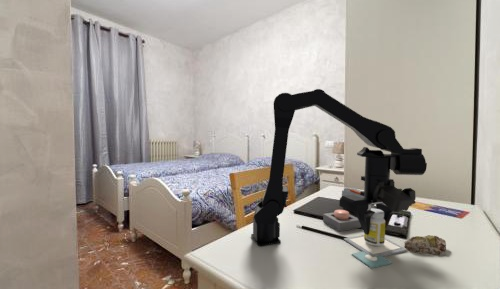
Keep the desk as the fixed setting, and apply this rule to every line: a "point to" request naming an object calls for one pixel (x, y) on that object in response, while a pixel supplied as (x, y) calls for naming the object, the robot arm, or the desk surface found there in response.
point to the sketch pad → (375, 247)
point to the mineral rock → (426, 244)
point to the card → (371, 259)
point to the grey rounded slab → (353, 193)
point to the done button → (341, 214)
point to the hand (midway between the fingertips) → (374, 232)
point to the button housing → (341, 222)
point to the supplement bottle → (376, 228)
